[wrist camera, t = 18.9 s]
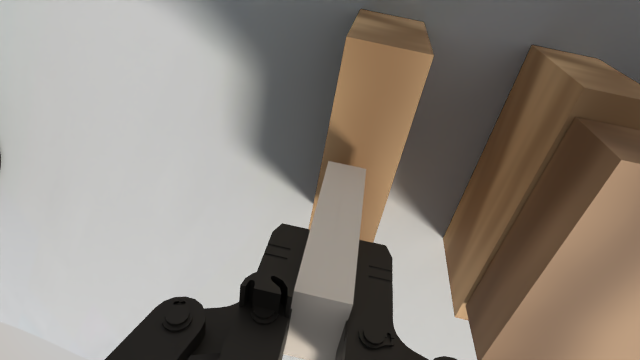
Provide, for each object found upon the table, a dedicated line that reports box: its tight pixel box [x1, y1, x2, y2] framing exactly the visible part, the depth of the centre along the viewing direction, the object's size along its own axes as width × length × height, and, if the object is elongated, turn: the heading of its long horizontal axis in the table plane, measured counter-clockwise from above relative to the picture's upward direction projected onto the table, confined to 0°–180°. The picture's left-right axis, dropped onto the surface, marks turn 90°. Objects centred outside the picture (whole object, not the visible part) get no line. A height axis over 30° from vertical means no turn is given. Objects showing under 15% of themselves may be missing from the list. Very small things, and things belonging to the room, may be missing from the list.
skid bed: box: [309, 9, 640, 320], centre depth 19 cm, size 11×12×6 cm
